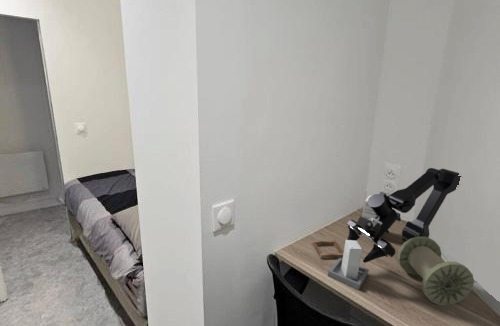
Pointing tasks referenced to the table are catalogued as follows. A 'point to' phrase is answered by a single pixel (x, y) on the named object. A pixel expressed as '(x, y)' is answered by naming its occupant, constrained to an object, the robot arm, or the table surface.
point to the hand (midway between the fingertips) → (354, 254)
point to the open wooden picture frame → (331, 255)
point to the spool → (435, 271)
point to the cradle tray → (339, 275)
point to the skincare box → (351, 259)
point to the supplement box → (368, 211)
